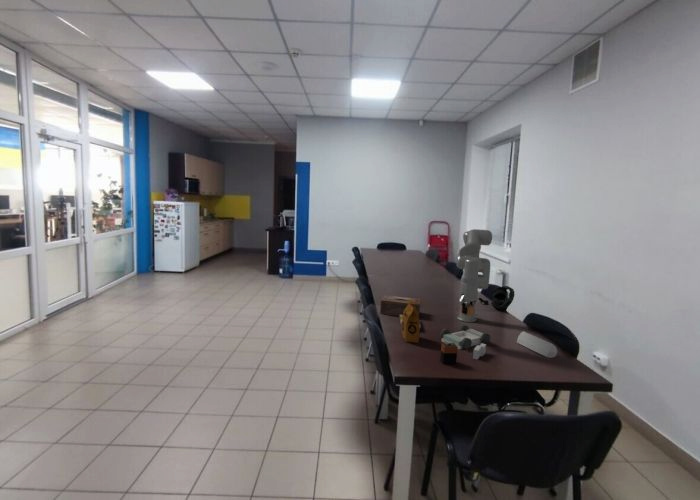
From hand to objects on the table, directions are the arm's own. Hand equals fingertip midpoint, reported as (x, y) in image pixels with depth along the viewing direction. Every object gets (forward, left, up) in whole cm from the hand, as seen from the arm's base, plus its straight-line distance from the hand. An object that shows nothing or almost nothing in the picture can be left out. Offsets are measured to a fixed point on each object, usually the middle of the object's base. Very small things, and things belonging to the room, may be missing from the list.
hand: (467, 312), depth 211 cm
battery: (+30, +15, -17) cm, 38 cm away
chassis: (0, 0, -17) cm, 17 cm away
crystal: (-27, +26, -18) cm, 42 cm away
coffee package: (+26, -17, -17) cm, 36 cm away
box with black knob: (0, 0, -1) cm, 1 cm away
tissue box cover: (-1, -57, -18) cm, 60 cm away
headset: (-77, -35, -17) cm, 86 cm away
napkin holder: (+8, +17, -18) cm, 26 cm away
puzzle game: (+10, -35, -18) cm, 40 cm away
